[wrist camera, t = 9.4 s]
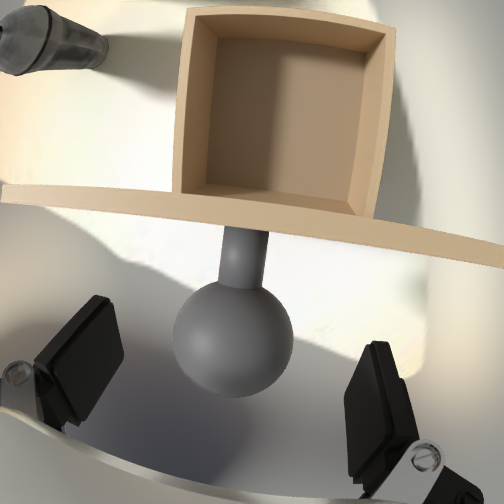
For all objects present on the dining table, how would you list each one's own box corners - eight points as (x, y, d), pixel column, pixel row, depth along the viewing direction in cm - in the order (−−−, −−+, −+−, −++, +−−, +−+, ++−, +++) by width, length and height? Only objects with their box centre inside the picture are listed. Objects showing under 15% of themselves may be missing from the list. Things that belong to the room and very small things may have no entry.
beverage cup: (85, 91, 28) (-56, 99, 10) (64, 55, 26) (-64, 49, 8) (127, 49, 26) (-15, 18, 8) (103, 14, 24) (-24, -22, 6)
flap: (2, 184, 7) (6, 359, 8) (522, 250, 6) (460, 444, 6) (171, 209, 24) (163, 285, 25) (369, 235, 23) (356, 313, 23)
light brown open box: (213, 33, 24) (187, 8, 17) (372, 50, 23) (395, 28, 16) (200, 188, 31) (171, 209, 24) (352, 208, 30) (369, 235, 23)
